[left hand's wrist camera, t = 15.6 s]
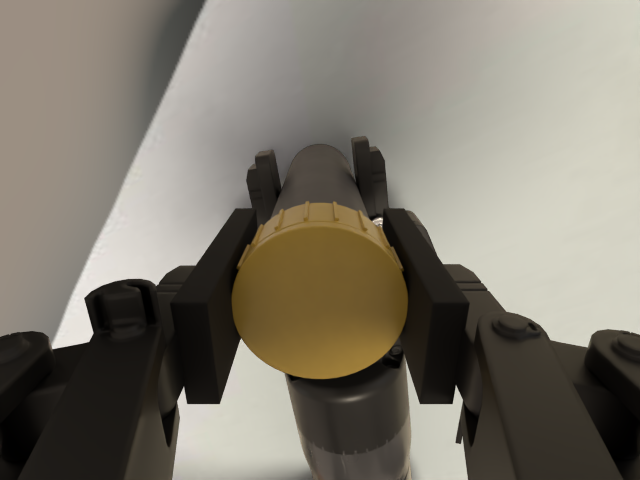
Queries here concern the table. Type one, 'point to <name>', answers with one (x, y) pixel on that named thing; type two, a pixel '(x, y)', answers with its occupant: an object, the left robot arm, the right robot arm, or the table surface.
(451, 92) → the table surface
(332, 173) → the grey cylindrical bottle
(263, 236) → the lid
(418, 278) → the left robot arm
